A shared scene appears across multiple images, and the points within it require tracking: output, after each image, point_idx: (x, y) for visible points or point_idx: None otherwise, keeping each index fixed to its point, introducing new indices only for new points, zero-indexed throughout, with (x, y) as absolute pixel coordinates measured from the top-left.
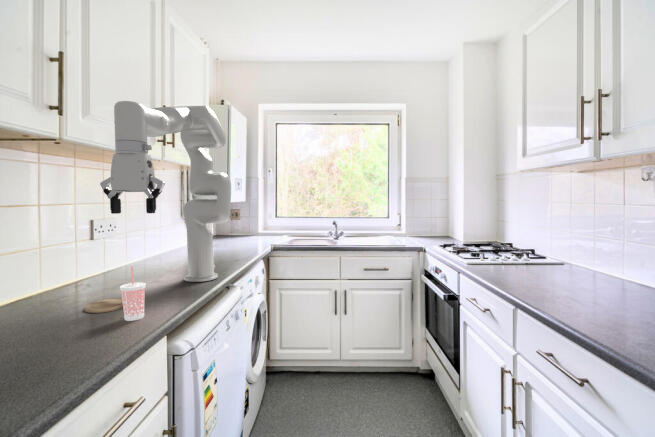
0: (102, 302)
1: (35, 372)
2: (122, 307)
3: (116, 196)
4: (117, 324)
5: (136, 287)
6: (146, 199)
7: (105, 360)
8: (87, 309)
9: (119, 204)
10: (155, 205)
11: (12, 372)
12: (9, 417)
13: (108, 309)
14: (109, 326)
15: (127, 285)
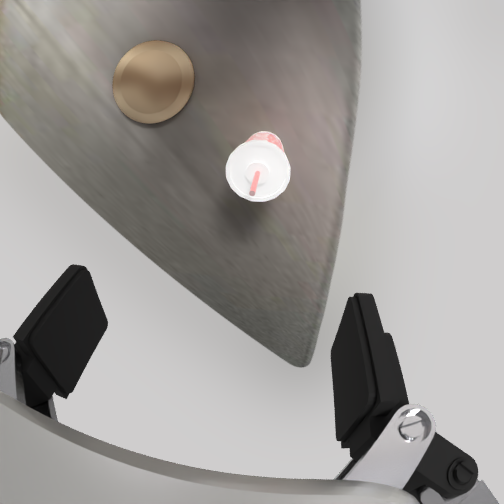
0: (133, 76)
1: (250, 315)
2: (193, 86)
3: (35, 385)
4: None
5: (279, 193)
6: (339, 437)
7: (311, 300)
8: (135, 120)
9: (59, 322)
10: (394, 362)
11: (225, 313)
12: (287, 360)
13: (177, 112)
14: None
15: (241, 170)
